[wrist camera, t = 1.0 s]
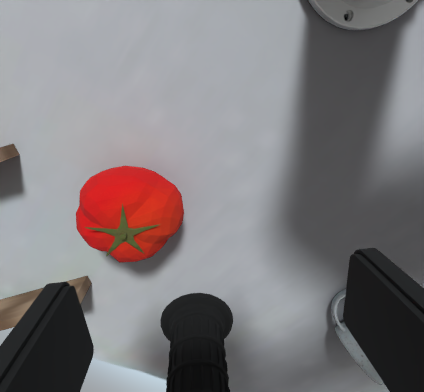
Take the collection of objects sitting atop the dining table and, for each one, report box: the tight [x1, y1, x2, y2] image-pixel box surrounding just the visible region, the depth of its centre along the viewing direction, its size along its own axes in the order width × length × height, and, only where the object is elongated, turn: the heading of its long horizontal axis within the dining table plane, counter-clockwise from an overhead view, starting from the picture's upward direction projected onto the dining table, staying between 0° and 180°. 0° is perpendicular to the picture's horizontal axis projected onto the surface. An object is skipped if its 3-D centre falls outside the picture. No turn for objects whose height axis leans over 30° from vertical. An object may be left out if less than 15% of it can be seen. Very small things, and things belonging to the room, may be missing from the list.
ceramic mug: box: [331, 289, 384, 385], centre depth 36 cm, size 11×8×8 cm
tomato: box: [76, 166, 184, 262], centre depth 27 cm, size 9×10×8 cm
